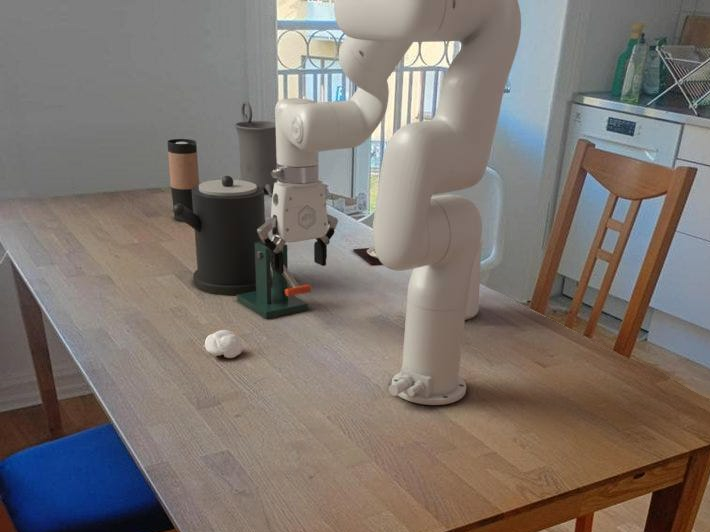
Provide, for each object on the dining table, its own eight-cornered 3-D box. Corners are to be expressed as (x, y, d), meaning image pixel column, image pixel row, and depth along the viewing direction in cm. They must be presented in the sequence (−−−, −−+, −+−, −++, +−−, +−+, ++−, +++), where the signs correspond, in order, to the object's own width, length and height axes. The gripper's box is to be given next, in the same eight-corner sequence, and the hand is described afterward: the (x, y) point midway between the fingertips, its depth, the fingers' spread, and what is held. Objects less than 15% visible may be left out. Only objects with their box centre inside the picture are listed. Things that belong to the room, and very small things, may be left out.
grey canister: (293, 194, 246) (292, 107, 233) (250, 199, 239) (247, 109, 226) (265, 182, 260) (263, 99, 246) (224, 186, 253) (220, 100, 239)
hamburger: (416, 261, 193) (418, 238, 190) (371, 265, 189) (372, 242, 186) (396, 247, 202) (398, 225, 200) (353, 250, 199) (354, 228, 196)
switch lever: (309, 295, 156) (312, 286, 154) (287, 299, 153) (289, 290, 151) (277, 251, 161) (280, 241, 159) (255, 254, 158) (257, 245, 156)
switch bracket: (308, 309, 162) (308, 248, 156) (266, 319, 157) (264, 255, 150) (277, 292, 170) (276, 233, 163) (237, 300, 165) (234, 239, 158)
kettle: (285, 286, 174) (283, 179, 162) (198, 303, 163) (190, 190, 151) (240, 262, 187) (236, 162, 175) (157, 276, 176) (147, 170, 164)
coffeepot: (417, 332, 154) (425, 236, 144) (433, 291, 175) (440, 204, 165) (472, 338, 153) (484, 241, 143) (481, 296, 173) (492, 209, 163)
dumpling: (232, 347, 145) (236, 328, 143) (243, 362, 142) (248, 343, 140) (197, 348, 141) (201, 328, 139) (208, 363, 138) (212, 344, 136)
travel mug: (170, 216, 220) (163, 139, 209) (197, 214, 222) (192, 138, 212) (177, 223, 214) (170, 144, 203) (204, 221, 217) (199, 143, 206)
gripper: (267, 182, 135) (270, 280, 144) (348, 173, 144) (347, 266, 153) (245, 175, 140) (250, 270, 149) (325, 166, 149) (325, 256, 158)
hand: (299, 268), depth 151 cm, fingers open, 9 cm apart
